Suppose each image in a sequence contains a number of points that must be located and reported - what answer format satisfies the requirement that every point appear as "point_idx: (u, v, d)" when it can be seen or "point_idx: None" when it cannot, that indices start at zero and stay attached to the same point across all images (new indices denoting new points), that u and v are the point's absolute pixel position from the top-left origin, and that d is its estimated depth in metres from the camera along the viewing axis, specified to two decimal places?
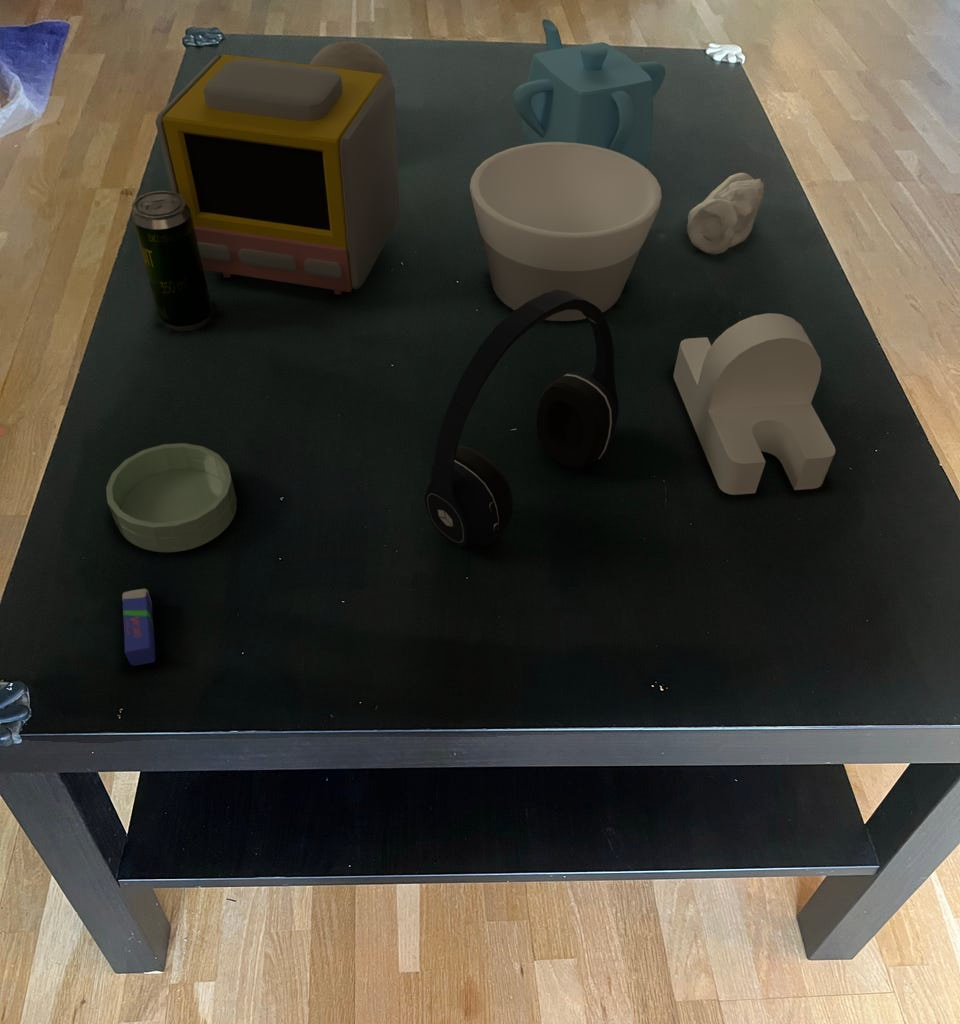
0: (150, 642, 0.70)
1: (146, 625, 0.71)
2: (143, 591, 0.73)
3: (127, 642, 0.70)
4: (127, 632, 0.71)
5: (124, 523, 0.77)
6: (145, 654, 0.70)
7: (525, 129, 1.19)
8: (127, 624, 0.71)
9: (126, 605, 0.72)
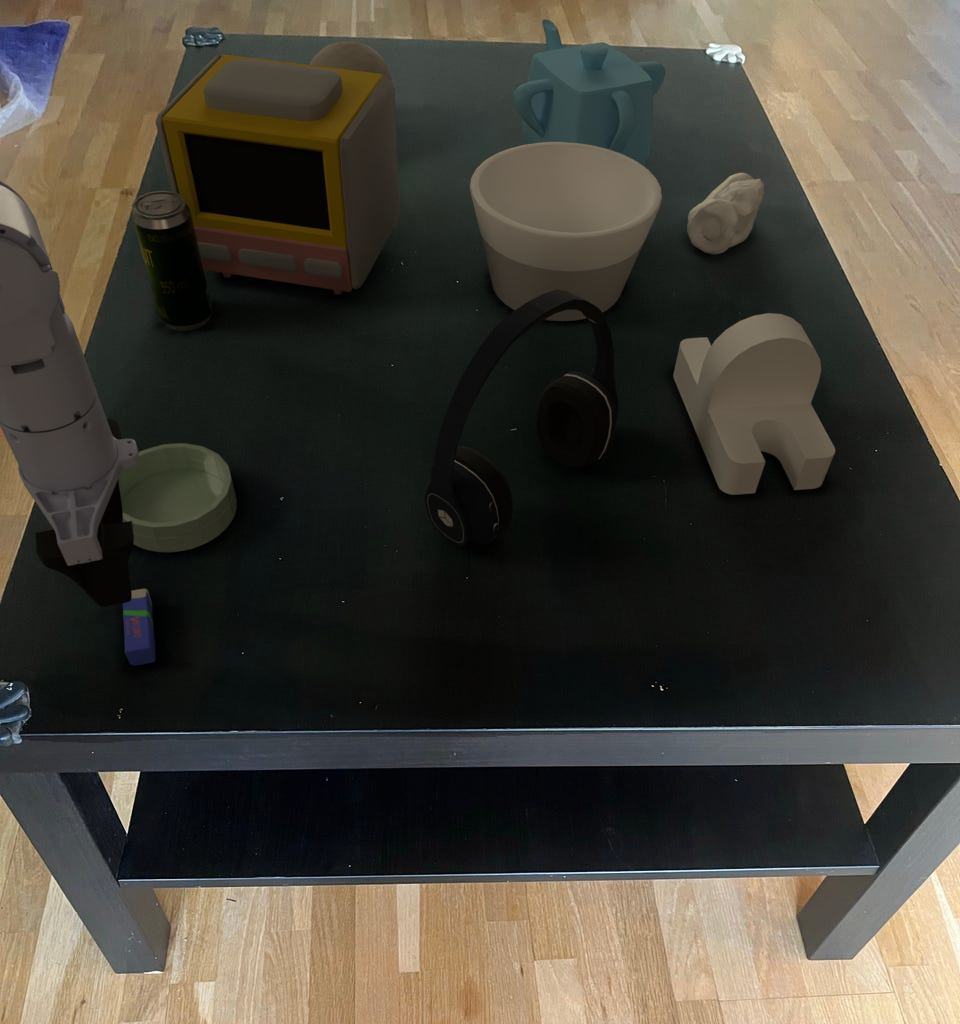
0: (150, 642, 0.70)
1: (146, 625, 0.71)
2: (143, 591, 0.73)
3: (127, 642, 0.70)
4: (127, 632, 0.71)
5: None
6: (145, 654, 0.70)
7: (525, 129, 1.19)
8: (127, 624, 0.71)
9: (126, 605, 0.72)
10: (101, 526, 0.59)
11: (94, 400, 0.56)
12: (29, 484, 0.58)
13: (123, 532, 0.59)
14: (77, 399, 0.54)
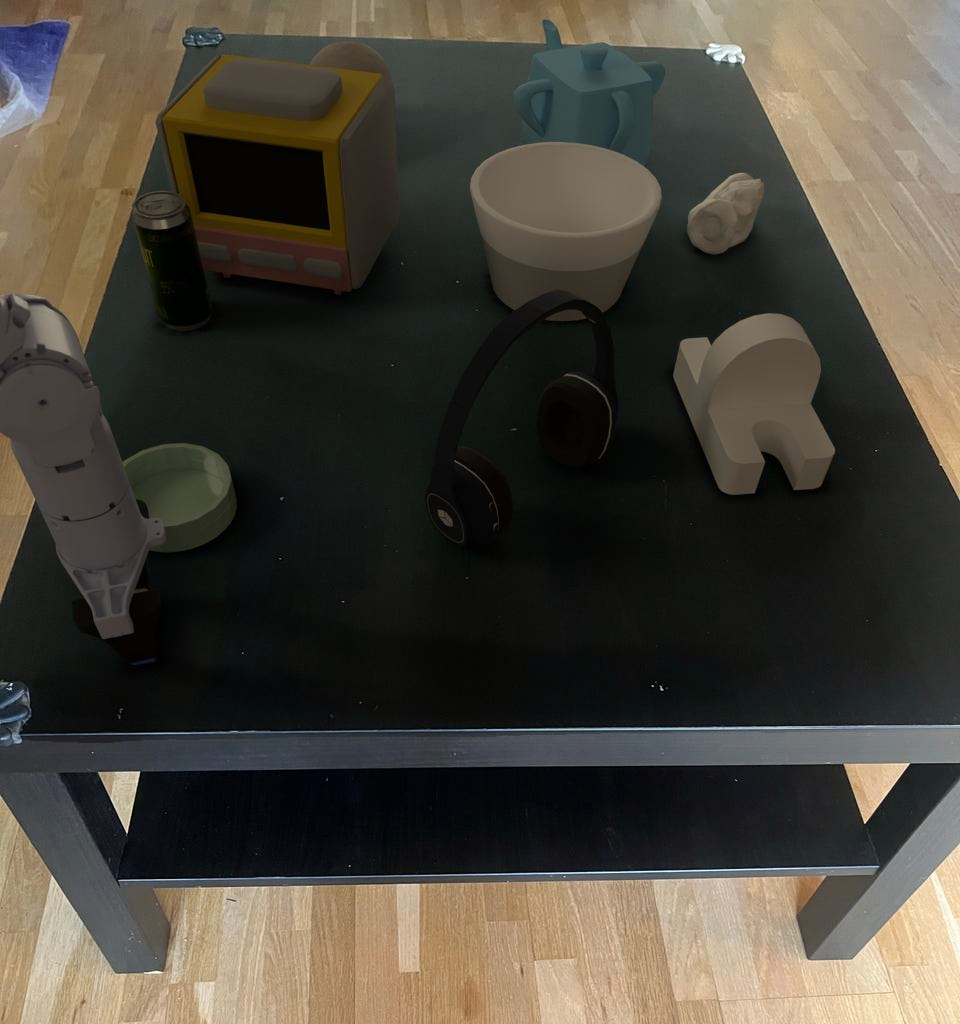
0: None
1: None
2: (143, 591, 0.73)
3: None
4: None
5: None
6: None
7: (525, 129, 1.19)
8: None
9: None
10: None
11: (127, 489, 0.61)
12: (66, 563, 0.63)
13: (151, 599, 0.64)
14: (112, 491, 0.60)
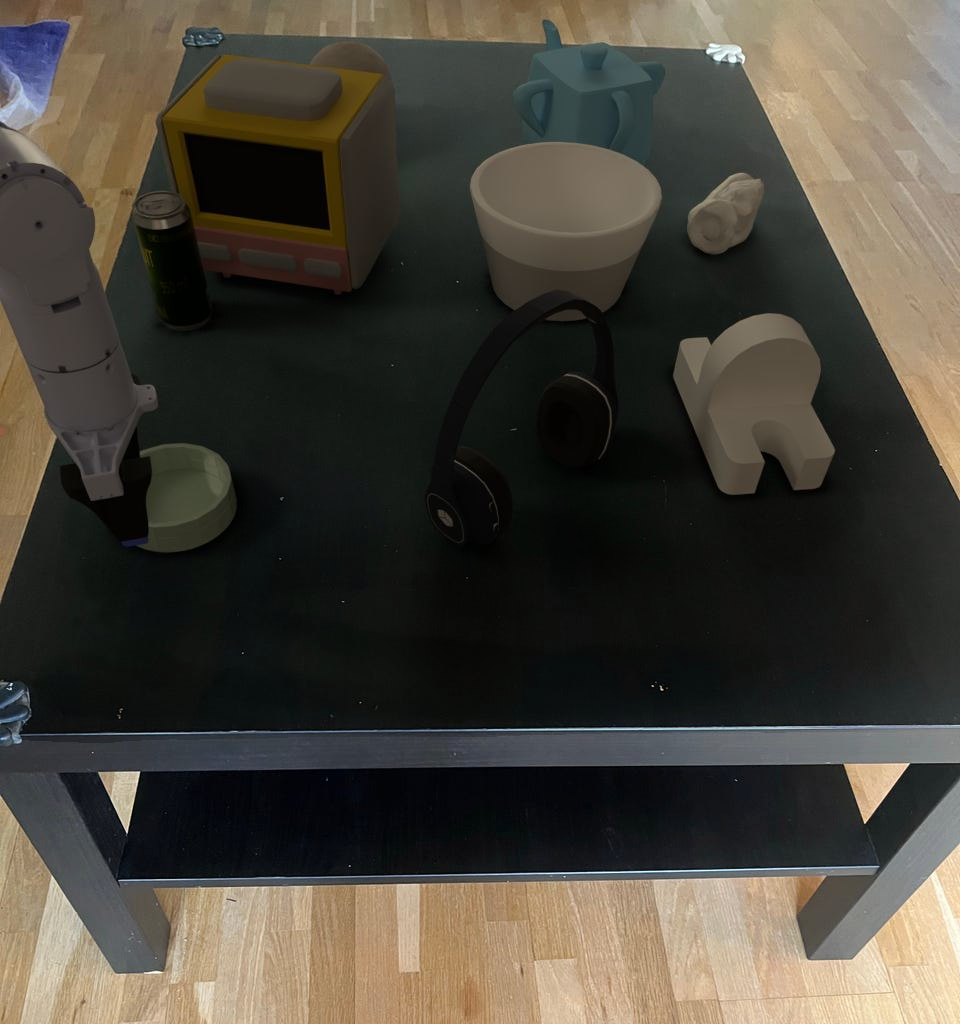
0: None
1: None
2: None
3: None
4: None
5: None
6: None
7: (525, 129, 1.19)
8: None
9: None
10: (122, 460, 0.62)
11: (116, 344, 0.59)
12: (54, 425, 0.61)
13: (142, 466, 0.62)
14: (107, 336, 0.58)
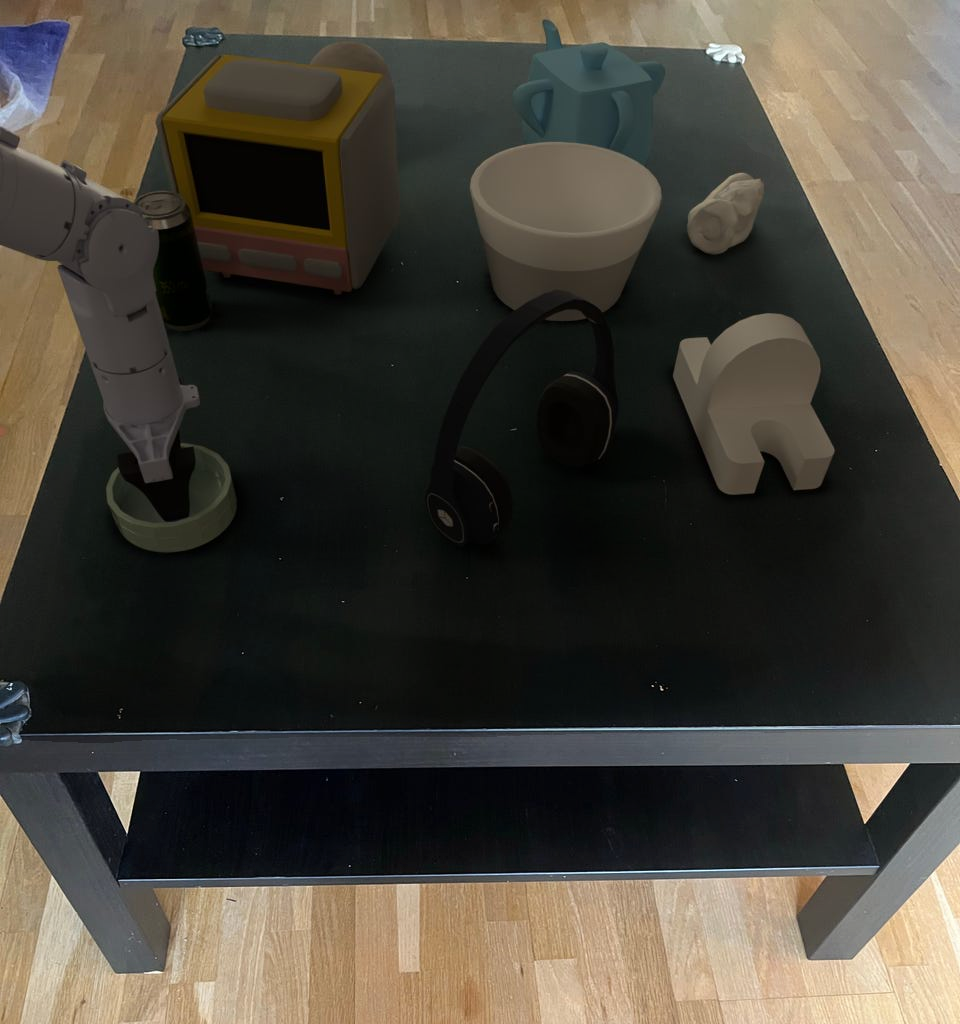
0: None
1: None
2: None
3: None
4: None
5: (124, 523, 0.77)
6: None
7: (525, 129, 1.19)
8: None
9: None
10: (169, 450, 0.73)
11: (168, 350, 0.70)
12: (113, 419, 0.72)
13: (187, 454, 0.73)
14: (164, 338, 0.69)
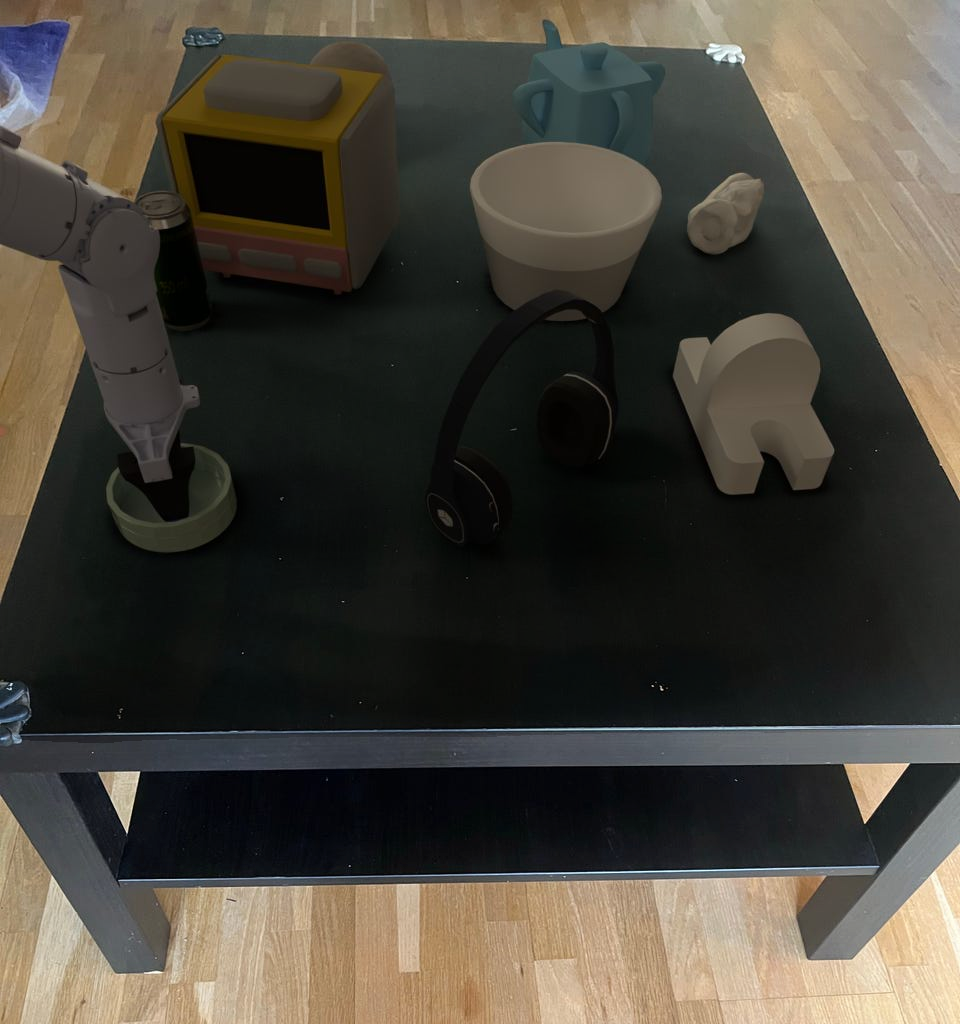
0: None
1: None
2: None
3: None
4: None
5: (124, 523, 0.77)
6: None
7: (525, 129, 1.19)
8: None
9: None
10: (169, 449, 0.73)
11: (168, 350, 0.70)
12: (113, 419, 0.72)
13: (187, 454, 0.73)
14: (164, 338, 0.69)
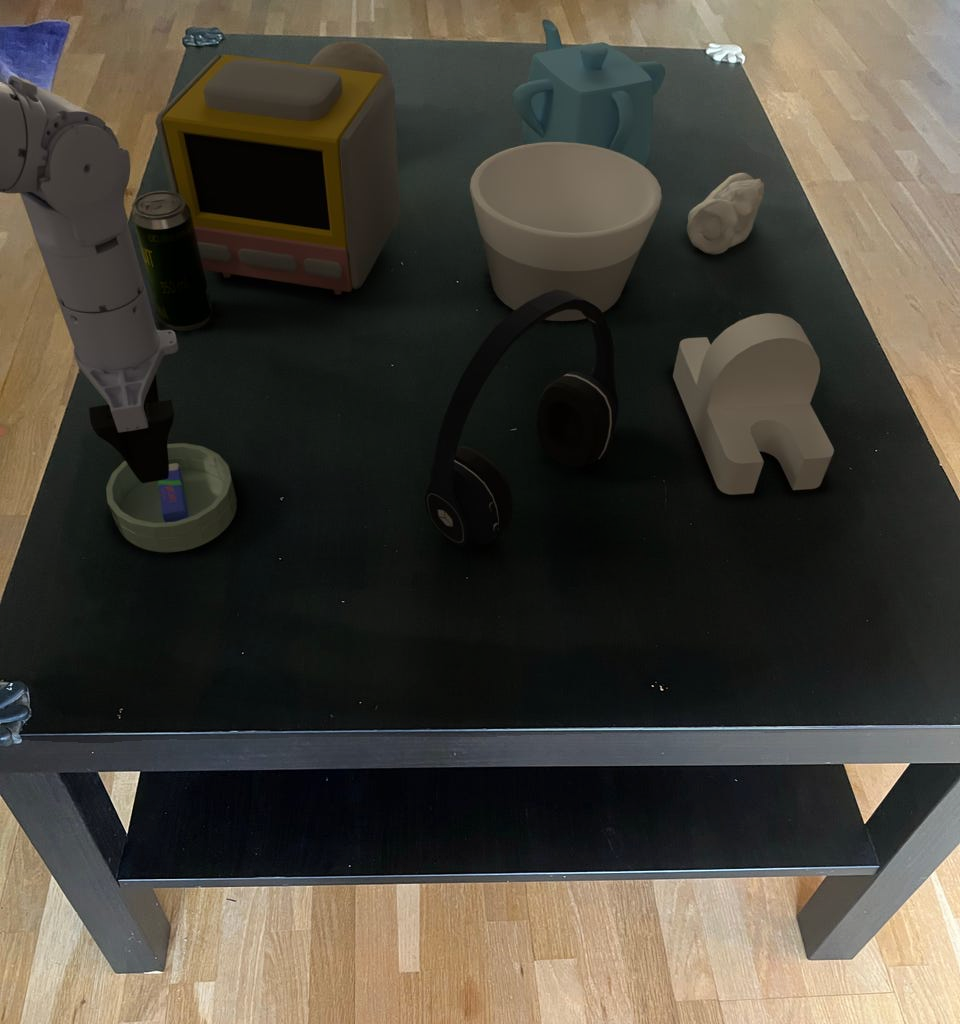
0: (184, 506, 0.78)
1: (180, 492, 0.79)
2: (175, 465, 0.81)
3: (164, 506, 0.78)
4: (163, 498, 0.79)
5: (124, 523, 0.77)
6: (180, 516, 0.78)
7: (525, 129, 1.19)
8: (163, 491, 0.79)
9: None
10: (146, 403, 0.67)
11: (142, 288, 0.64)
12: (84, 364, 0.66)
13: (165, 408, 0.67)
14: (137, 275, 0.63)
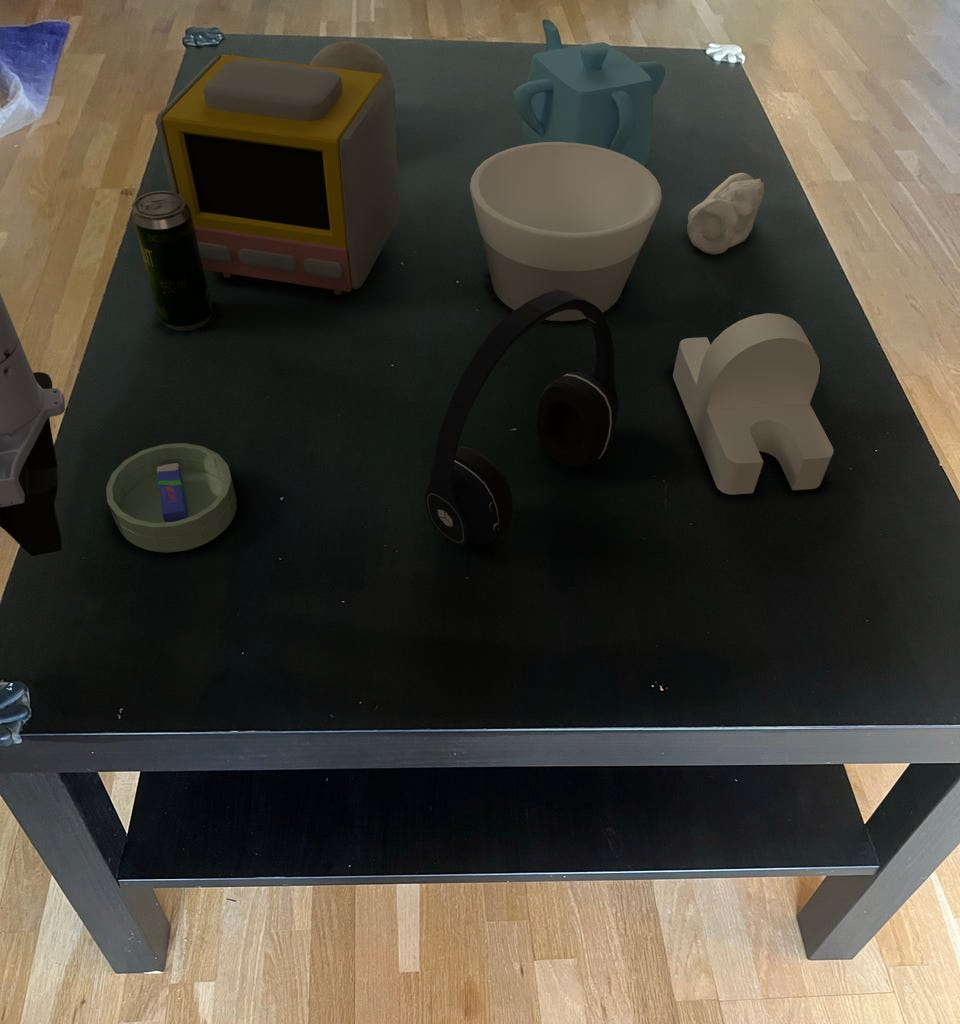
0: (184, 506, 0.78)
1: (180, 492, 0.79)
2: (175, 465, 0.81)
3: (164, 506, 0.78)
4: (163, 498, 0.79)
5: (124, 523, 0.77)
6: (180, 516, 0.78)
7: (525, 129, 1.19)
8: (163, 491, 0.79)
9: (161, 476, 0.80)
10: (26, 472, 0.60)
11: (15, 346, 0.57)
12: None
13: (47, 478, 0.60)
14: (5, 336, 0.56)
